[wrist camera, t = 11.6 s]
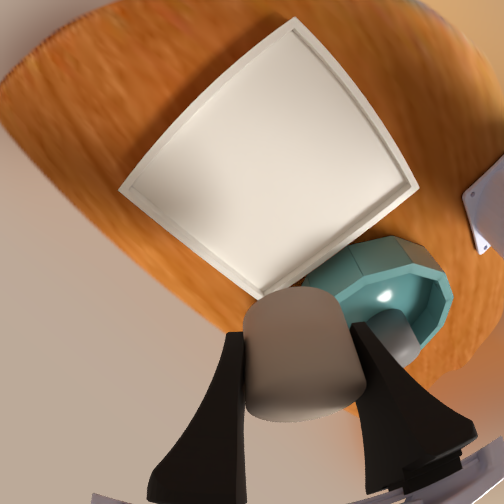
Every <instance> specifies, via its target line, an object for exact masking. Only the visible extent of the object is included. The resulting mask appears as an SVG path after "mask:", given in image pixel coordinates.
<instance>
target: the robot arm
mask: <svg viewBox="0 0 504 504" xmlns="http://www.w3.org/2000/svg"><path fill="white" fill-rule="evenodd" d="M471 193H472V194H471ZM462 199H463V202H464V206H465V209H466V212H467V215H468V219H469V222H470V226H471V229H472V233H473V237H474V241H475V245H476V249H477V252H478V254H483V253H484V252H485V251H486V250H487V249H488V248H489V247H490V246H492V247H493V248H494V249H495V251H496V252H497V253H498V254H499V255H500V256H501V257H502V258H503V259H504V155H503V156H502V157H501V158H500V159H499V160H498V161H497V162H496V163H495V164H494V165H493V166H492V167H491V168H490V169H489V170H488V171H487V172H486V173H485V174H483V175H482V176H481V177H480V178H479V179H478V180H477V181H476V182H475V183H474V184H473V185H472V186H471V187H470V188H468V189H467V190H466V191H465V192H464V193H463V196H462ZM349 331H350V334H351V337H352V340H353V343H354V346H355V349H356V352H357V355H358V358H359V361H360V364H361V367H362V370H363V373H364V376H365V379H366V389H365V391H364V393H363V394H362V395H361V396H360V397H359V398H358V399H357V400H356V401H355V402H356V405H357V409H358V413H359V417H360V422H361V429H362V435H363V444H364V455H365V476H366V477H365V478H366V479H365V482H366V483H365V489H366V494H367V495H369V494H372V493H375V492H379V491H382V490H385V489H388V490H389V492H387V493H384V494H381V495H378V496H374V497H371V498H368V499H364V500H360V501H357V502H353V503H348V504H391V503H393V502H396V501H399V500H402V499H404V498H406V500H405V502H404V503H401V504H473V503H474V502H476V501H477V500H478V499H479V498H481V497H482V496H483V495H484V494H486V493H487V492H488V491H489V490H490V489H492V488H493V487H494V486H496V485H497V484H498V483H499V482H500V481H502V480H503V479H504V441H503V438H502V436H500V437H499V438H497V439H496V440H494V441H492V442H491V443H490V444H488V445H486V446H485V447H483V448H481V449H480V450H478V451H477V452H475V453H473V454H472V455H470V456H468V457H466V458H465V459H463V460H461V461H460V457H459V456H461V455H462V451H461V449H462V448H463V447H465V446H466V445H468V444H470V443H471V442H472V441H474V440H475V439H476V438H477V437H478V435H477V432H476V429H475V427H474V424H473V422H472V421H471V420H470V419H468V418H466V417H464V416H462V415H460V414H458V413H457V412H455V411H453V410H452V409H450V408H449V407H447V406H446V405H444V404H443V403H442V402H440V401H439V400H438V399H436V398H435V397H434V396H432V395H431V394H430V393H429V392H427V391H426V390H425V389H424V388H423V387H422V386H421V385H420V384H418V383H417V382H416V381H415V380H414V379H413V378H412V377H411V376H410V375H409V374H408V373H407V372H406V371H405V370H404V368H403V367H402V366H401V365H400V364H399V363H398V362H397V361H396V360H395V358H394V357H393V356H392V355H391V354H390V353H389V351H388V350H387V349H386V348H385V347H384V345H383V344H382V343H381V342H380V340H379V339H378V338H377V337H376V335H375V334H374V333H373V331H372V330H371V329H370V328H369V326H368V325H367V324H366V323H365V322H364V321H363V322H355V323H351V326H350V330H349ZM244 361H245V360H244V335H243V332H228V333H227V334H226V339H225V343H224V347H223V351H222V354H221V357H220V361H219V364H218V366H217V369H216V371H215V374H214V377H213V379H212V382H211V384H210V386H209V388H208V390H207V393H206V395H205V397H204V399H203V401H202V403H201V404H200V407H199V408H198V410H197V412H196V414H195V415H194V417H193V419H192V420H191V422H190V423H189V425H188V427H187V428H186V430H185V431H184V433H183V434H182V436H181V437H180V438H179V440H178V441H177V442H176V444H175V445H174V446H173V448H172V449H171V450H170V451H169V453H168V454H167V455H166V456H165V457H164V459H163V460H162V461H161V462H160V463H159V464H158V465H157V466H156V468H155V469H154V470H153V472H152V474H151V476H150V479H149V483H148V487H147V500H148V501H149V502H153V503H157V504H246V503H247V493H246V476H245V455H244V433H243V432H244V411H245V377H244ZM91 504H131V503H127V502H123V501H119V500H115V499H112V498H108V497H105V496H102V495H98V494H95V493H93V494H92V501H91Z"/></svg>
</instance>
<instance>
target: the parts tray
mask: <svg viewBox="0 0 504 504" xmlns="http://www.w3.org/2000/svg"><path fill="white" fill-rule="evenodd" d="M419 188H420V187H419V185H418V183H417V181H416V179H415V177H414V176H413V174H412V172H411V170H410V168H409V166H408V164H407V163H406V161H405V159H404V157H403V155H402V154H401V152H400V150H399V149H398V147H397V145H396V143H395V142H394V140H393V139H392V137H391V135H390V134H389V132H388V130H387V129H386V127H385V126H384V124H383V123H382V121H381V120H380V118H379V117H378V115H377V114H376V112H375V111H374V109H373V108H372V106H371V105H370V103H369V102H368V101H367V99H366V98H365V96H364V95H363V94H362V92H361V91H360V90H359V88H358V87H357V86H356V84H355V83H354V82H353V80H352V79H351V78H350V77H349V75H348V74H347V73H346V72H345V70H344V69H343V68H342V67H341V65H340V64H339V63H338V62H337V61H336V60H335V58H334V57H333V56H332V55H331V54H330V53H329V51H328V50H327V49H326V48H325V47H324V46H323V45H322V44H321V42H320V41H319V40H318V39H317V38H316V37H315V36H314V35H313V34H312V33H311V32H310V31H309V30H308V29H307V28H306V27H305V26H304V25H303V24H302V23H301V22H300V21H299V20H298V19H297V18H296V17H293V18H292V19H290V20H289V21H288V22H286V23H285V24H283V25H282V26H281V27H279V28H278V29H276V30H275V31H274V32H272V33H271V34H270V35H268V36H267V37H266V38H265V39H263V40H262V41H261V42H259V43H258V44H257V45H256V46H254V47H253V48H252V49H251V50H249V51H248V52H247V53H246V54H245V55H243V56H242V57H241V58H240V59H239V60H237V61H236V62H235V63H234V64H233V65H232V66H231V67H229V68H228V69H227V70H226V71H225V72H224V73H223V74H222V75H220V76H219V77H218V78H217V79H216V80H215V81H214V82H213V83H212V84H211V85H210V86H209V87H208V88H207V89H206V90H205V91H203V92H202V93H201V94H200V95H199V96H198V97H197V98H196V99H195V100H194V101H193V102H192V103H191V104H190V105H189V106H188V108H187V109H186V110H185V111H184V112H183V113H182V114H181V115H180V116H179V117H178V118H177V119H176V120H175V121H174V122H173V123H172V125H171V126H170V127H169V128H168V129H167V130H166V131H165V132H164V133H163V135H162V136H161V137H160V138H159V139H158V140H157V141H156V143H155V144H154V145H153V146H152V147H151V149H150V150H149V151H148V152H147V153H146V155H145V156H144V157H143V158H142V159H141V161H140V162H139V163H138V164H137V166H136V167H135V168H134V169H133V171H132V172H131V173H130V175H129V176H128V177H127V179H126V180H125V181H124V183H123V184H122V185H121V187H120V188H119V189H118V191H119V192H120V193H122V194H123V195H124V196H125V197H126V198H128V199H129V200H130V201H131V202H132V203H134V204H135V205H136V206H137V207H139V208H140V209H141V210H142V211H143V212H145V213H146V214H147V215H148V216H150V217H151V218H152V219H153V220H155V221H156V222H157V223H158V224H159V225H161V226H162V227H163V228H164V229H166V230H167V231H168V232H169V233H171V234H172V235H173V236H174V237H176V238H177V239H178V240H180V241H181V242H182V243H183V244H185V245H186V246H187V247H188V248H190V249H191V250H192V251H194V252H195V253H196V254H197V255H199V256H200V257H201V258H203V259H204V260H205V261H206V262H208V263H209V264H210V265H212V266H213V267H214V268H216V269H217V270H218V271H219V272H221V273H222V274H223V275H225V276H226V277H227V278H229V279H230V280H231V281H233V282H234V283H235V284H237V285H238V286H239V287H241V288H242V289H243V290H245V291H246V292H247V293H249V294H250V295H251V296H253V297H254V298H255V299H257V300H259V299H261V298H262V297H264V296H266V295H268V294H270V293H272V292H275V291H277V290H281V289H285V288H288V287H290V286H291V285H293V284H294V283H296V282H297V281H298V280H300V279H301V278H303V277H304V276H305V275H307V274H308V273H310V272H311V271H312V270H314V269H315V268H317V267H318V266H319V265H321V264H322V263H324V262H325V261H326V260H328V259H329V258H330V257H332V256H333V255H334V254H336V253H337V252H339V251H340V250H341V249H343V248H344V247H345V246H347V245H348V244H349V243H351V242H352V241H353V240H355V239H356V238H357V237H359V236H360V235H361V234H363V233H364V232H365V231H366V230H368V229H369V228H370V227H372V226H373V225H374V224H376V223H377V222H378V221H379V220H381V219H382V218H383V217H385V216H386V215H387V214H388V213H390V212H391V211H392V210H393V209H395V208H396V207H397V206H398V205H400V204H401V203H402V202H403V201H405V200H406V199H407V198H408V197H410V196H411V195H412V194H413V193H414V192H416V191H417V190H418V189H419Z"/></svg>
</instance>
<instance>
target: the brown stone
mask: <svg viewBox="0 0 504 504" xmlns="http://www.w3.org/2000/svg"><path fill="white" fill-rule="evenodd" d="M243 335H244V360H245V361H244V377H245V406H246V409H247V411H248V412H249V413H250V414H251V415H253V416H255V417H257V418H259V419H262V420H266V421H272V422H301V421H308V420H313V419H317V418H321V417H324V416H328V415H330V414H333V413H335V412H338V411H340V410H342V409H344V408H346V407H347V406H349V405H351V404H352V403H353V402H355V401H356V400H357V399H358V398H359V397H360V396H361V395H362V394H363V393H364V391H365V389H366V379H365V376H364V373H363V370H362V367H361V364H360V361H359V358H358V355H357V352H356V349H355V346H354V343H353V340H352V337H351V334H350V331H349V328H348V326H347V323H346V320H345V317H344V314H343V312H342V309H341V306H340V304H339V302H338V301H337V299H336V298H335V297H334V296H333V295H331V294H330V293H328V292H326V291H324V290H321V289H318V288H314V287H305V286H301V287H289V288H285V289H281V290H277V291H275V292H272V293H270V294H268V295H266V296H264V297H262V298H261V299H259V300H258V301H257V302H255V303H254V304H253V305H252V306H251V307H250V309H249V310H248V311H247V313H246V315H245V317H244V321H243Z"/></svg>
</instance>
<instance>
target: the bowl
mask: <svg viewBox="0 0 504 504" xmlns="http://www.w3.org/2000/svg"><path fill="white" fill-rule="evenodd" d="M301 286H305V287H314V288H318V289H321V290H324V291H326V292H328V293H330V294H331V295H333V296H334V297H335V298H336V299H337V301H338V302H339V304H340V306H341V309H342V312H343V314H344V317H345V320H346V323H347V326H348V328H349V330H350V326H351V323H355V322H363V321H364V322H365V323H366V322H367V321H368V320H369V319H370V318H371V317H373V316H374V315H376V314H377V313H379V312H382V311H384V310H388V309H399V310H401V311H402V312H403V313H404V315H405V317H406V319H407V321H408V322H409V324H410V326H411V328H412V330H413V332H414V334H415V336H416V338H417V340H418V342H419V345H420V347H421V349H422V348H423V347H424V346H425V345H426V344H427V343H428V342H429V341H430V340H431V339H432V338H433V336H434V335H435V334H436V333H437V332H438V331H439V330H440V329H441V327H442V326H443V325H444V323H445V320H446V317H447V315H448V312H449V309H450V306H451V303H452V300H453V297H454V296H453V293H452V291H451V288H450V285H449V282H448V279H447V277H446V274H445V272H444V271H443V270H442V268H441V267H440V266H439V265H438V263H437V262H436V261H435V260H434V258H433V257H432V256H431V255H430V253H429V252H428V251H427V250H426V249H425V247H423V246H421V245H418V244H415V243H413V242H410V241H407V240H404V239H401V238H399V237H396V236H388V237H383V238H379V239H374V240H370V241H366V242H361V243H357V244H352V245H348V247H347V246H346V247H345V248H343V249H342V250H341V251H339V252H338V253H337V254H335V255H334V256H333V257H331V258H330V259H328V260H327V261H326V262H324V263H323V264H322V265H320V266H319V267H317V268H316V269H315V270H313V271H312V272H310V273H309V274H308V275H307V276H306V278H305V280H304V282H303V284H302V285H301Z"/></svg>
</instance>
